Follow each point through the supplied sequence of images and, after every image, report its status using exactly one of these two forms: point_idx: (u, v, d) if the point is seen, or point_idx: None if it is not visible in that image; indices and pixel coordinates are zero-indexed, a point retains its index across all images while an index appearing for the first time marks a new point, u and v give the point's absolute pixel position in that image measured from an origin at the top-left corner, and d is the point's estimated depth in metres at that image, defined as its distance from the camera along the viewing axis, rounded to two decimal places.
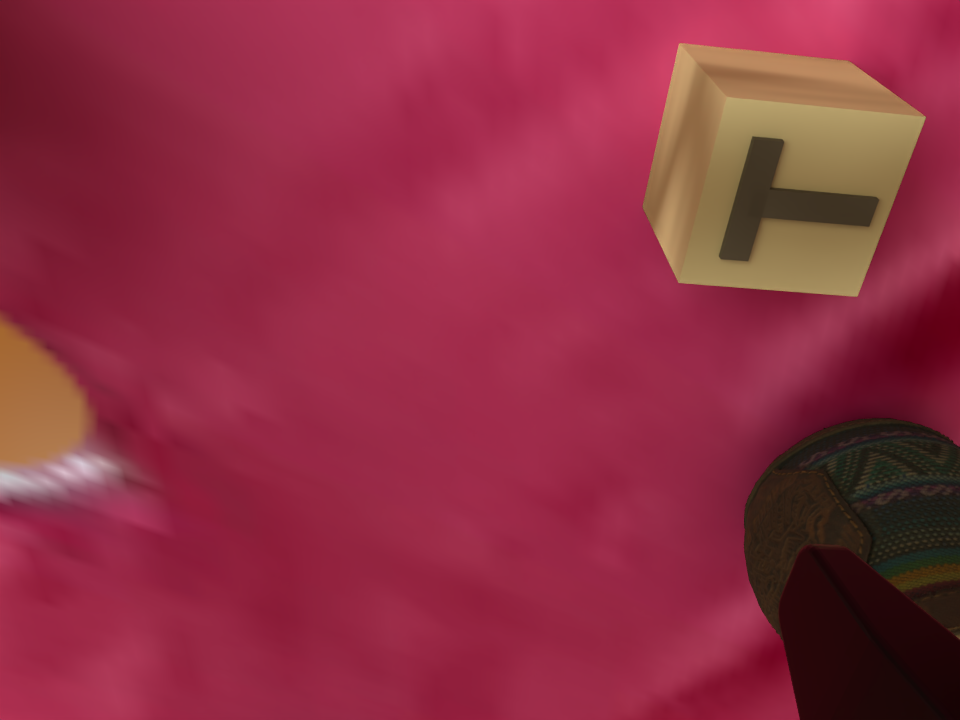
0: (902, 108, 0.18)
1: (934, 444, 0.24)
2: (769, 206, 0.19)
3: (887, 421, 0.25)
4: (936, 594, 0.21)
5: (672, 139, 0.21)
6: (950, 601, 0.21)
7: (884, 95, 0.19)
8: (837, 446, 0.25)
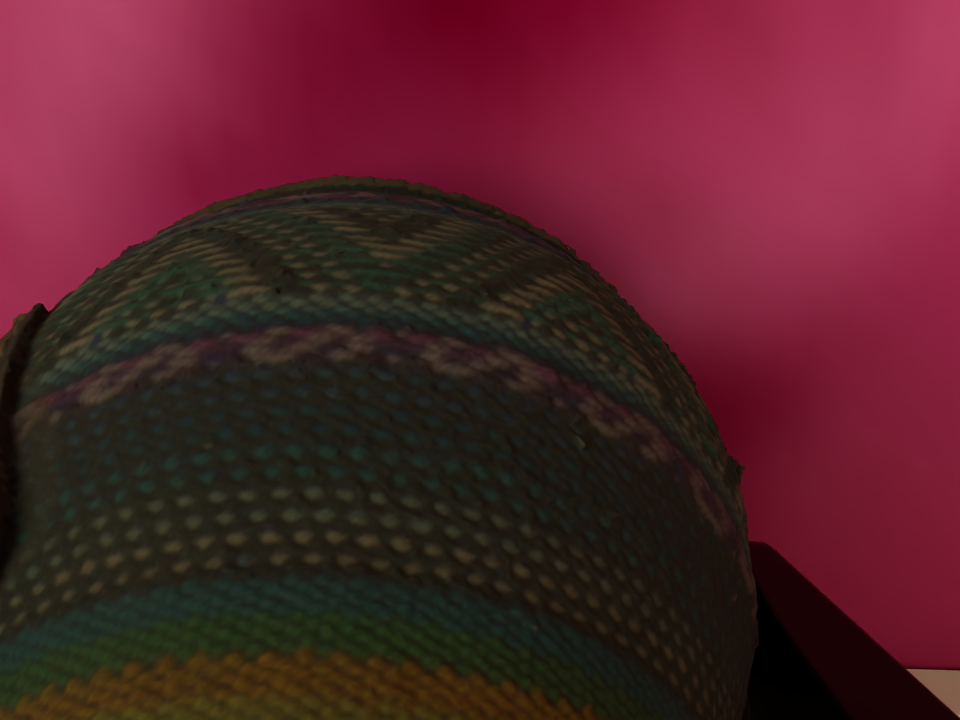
0: None
1: (421, 216, 0.07)
2: None
3: (349, 179, 0.08)
4: None
5: None
6: None
7: None
8: (144, 242, 0.08)
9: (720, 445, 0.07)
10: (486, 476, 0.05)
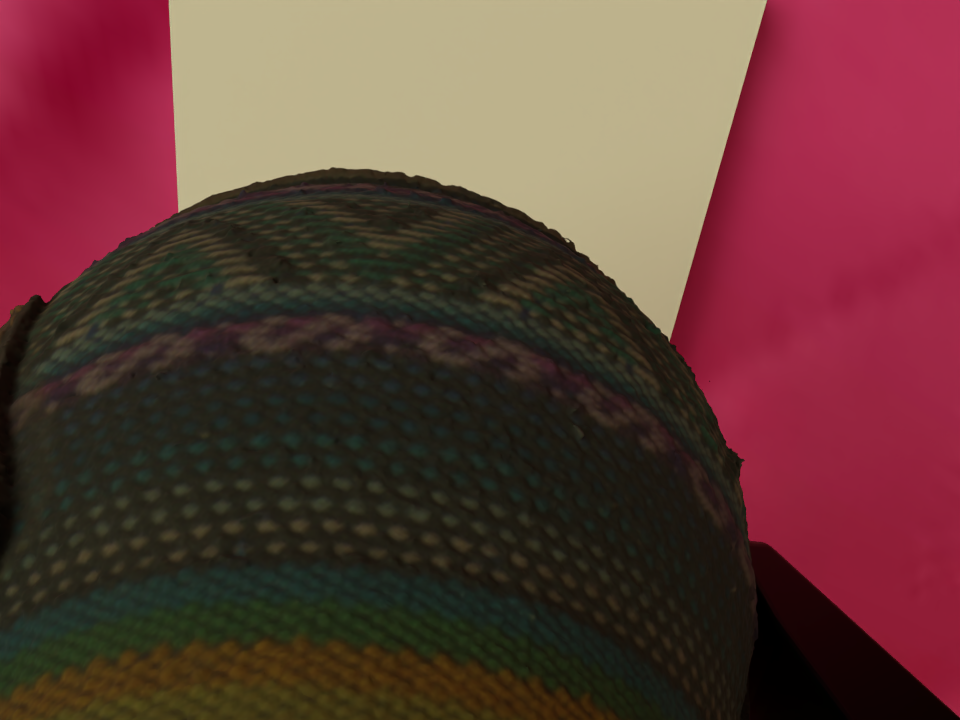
0: None
1: (419, 207, 0.07)
2: None
3: (347, 172, 0.08)
4: None
5: None
6: None
7: None
8: (141, 235, 0.08)
9: (719, 437, 0.07)
10: (485, 465, 0.05)
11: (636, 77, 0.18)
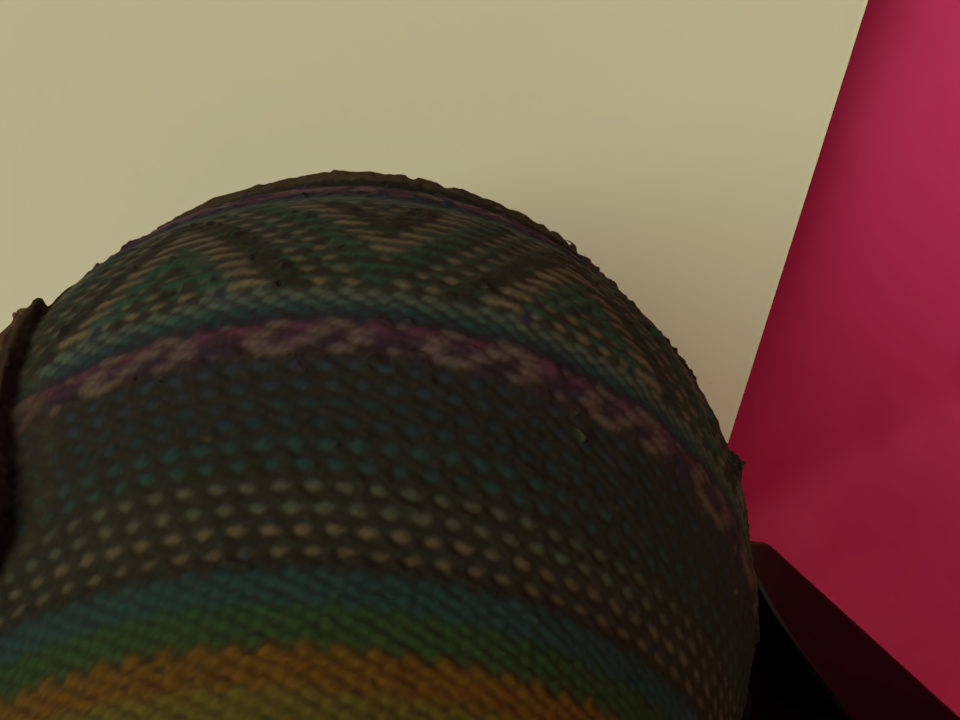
0: None
1: (421, 210, 0.07)
2: None
3: (349, 174, 0.08)
4: None
5: None
6: None
7: None
8: (144, 236, 0.08)
9: (721, 440, 0.07)
10: (486, 468, 0.05)
11: (678, 65, 0.11)
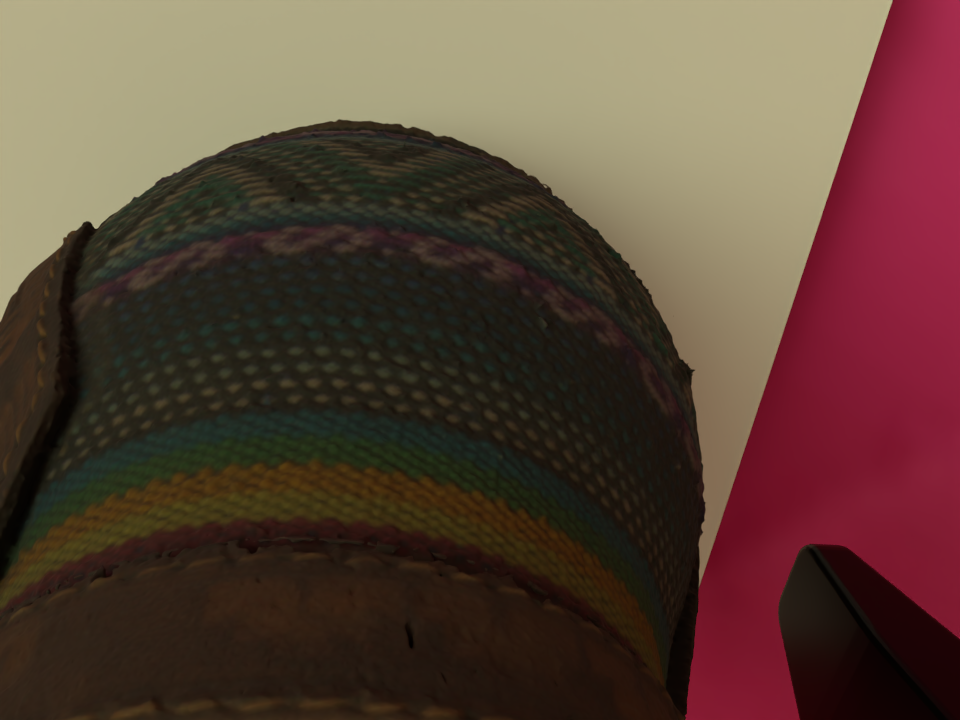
0: None
1: (413, 147, 0.08)
2: None
3: (352, 123, 0.09)
4: (111, 576, 0.05)
5: None
6: (121, 608, 0.05)
7: None
8: (174, 174, 0.09)
9: (672, 348, 0.09)
10: (463, 343, 0.07)
11: (684, 87, 0.11)
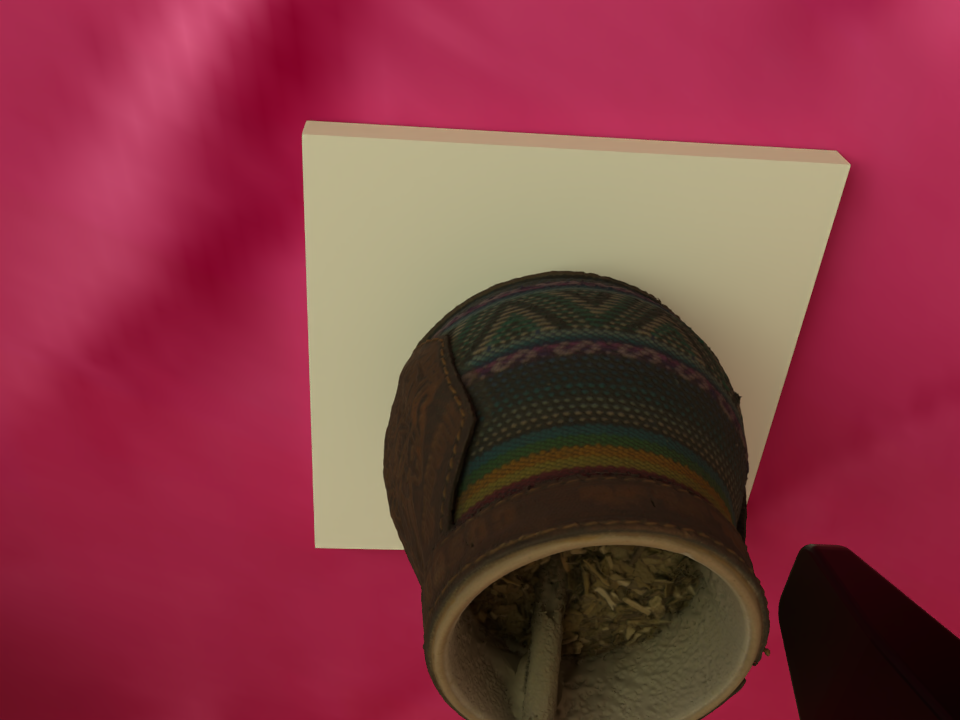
0: None
1: (602, 293, 0.17)
2: None
3: (559, 272, 0.18)
4: (534, 487, 0.14)
5: None
6: (545, 497, 0.14)
7: None
8: (477, 305, 0.18)
9: (730, 386, 0.17)
10: (645, 392, 0.15)
11: (729, 238, 0.19)
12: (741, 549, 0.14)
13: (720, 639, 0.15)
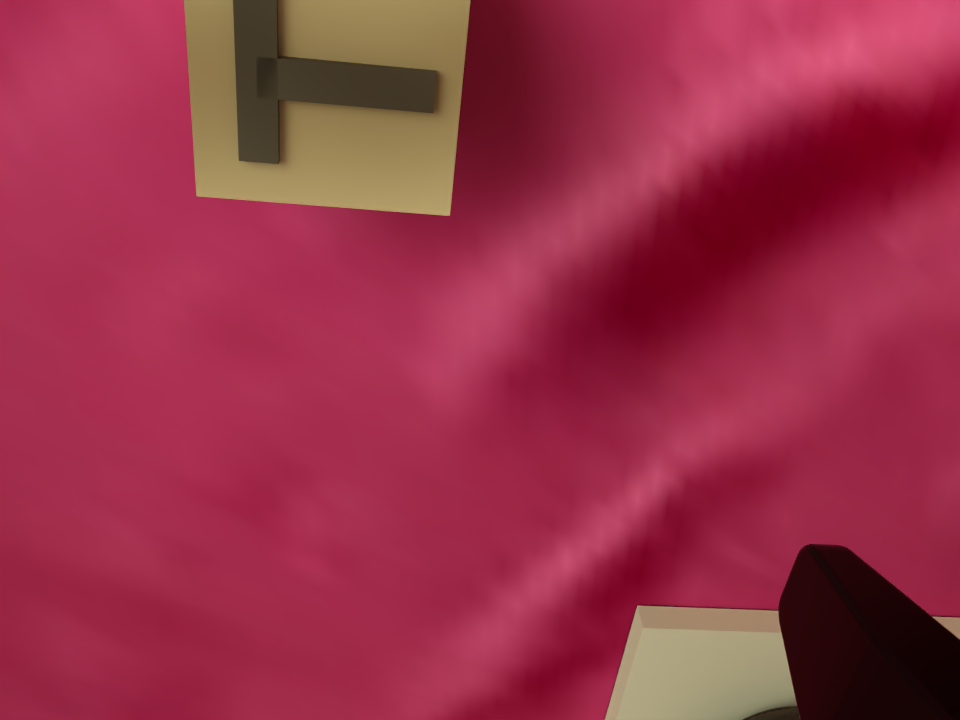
0: None
1: None
2: (284, 82, 0.13)
3: None
4: None
5: None
6: None
7: None
8: None
9: None
10: None
11: None
12: None
13: None
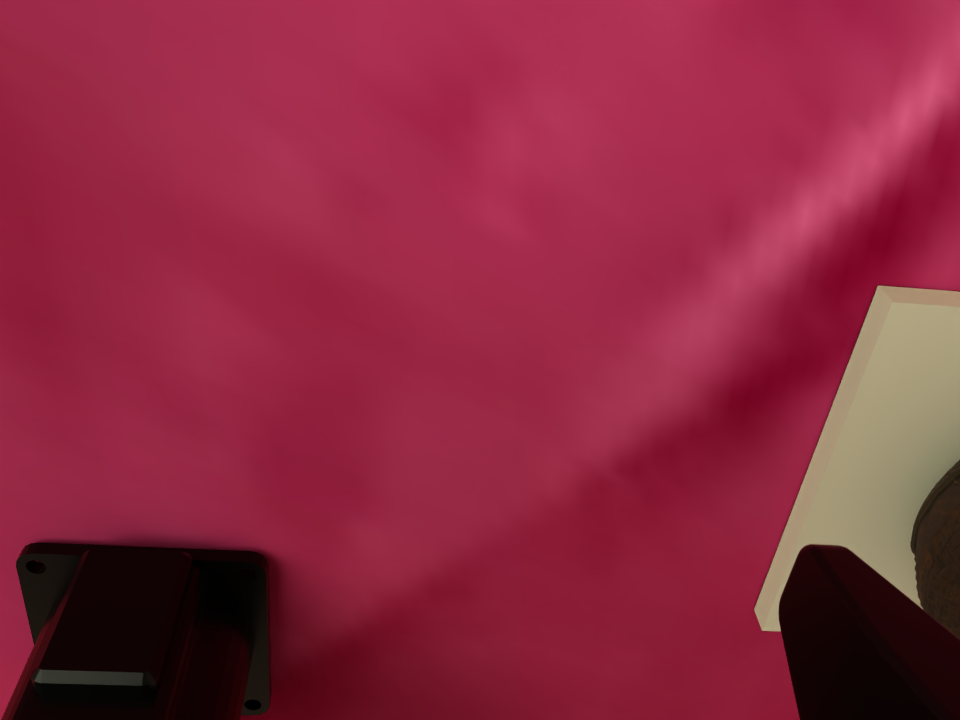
0: None
1: None
2: None
3: None
4: None
5: None
6: None
7: None
8: None
9: None
10: None
11: None
12: None
13: None
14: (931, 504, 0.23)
